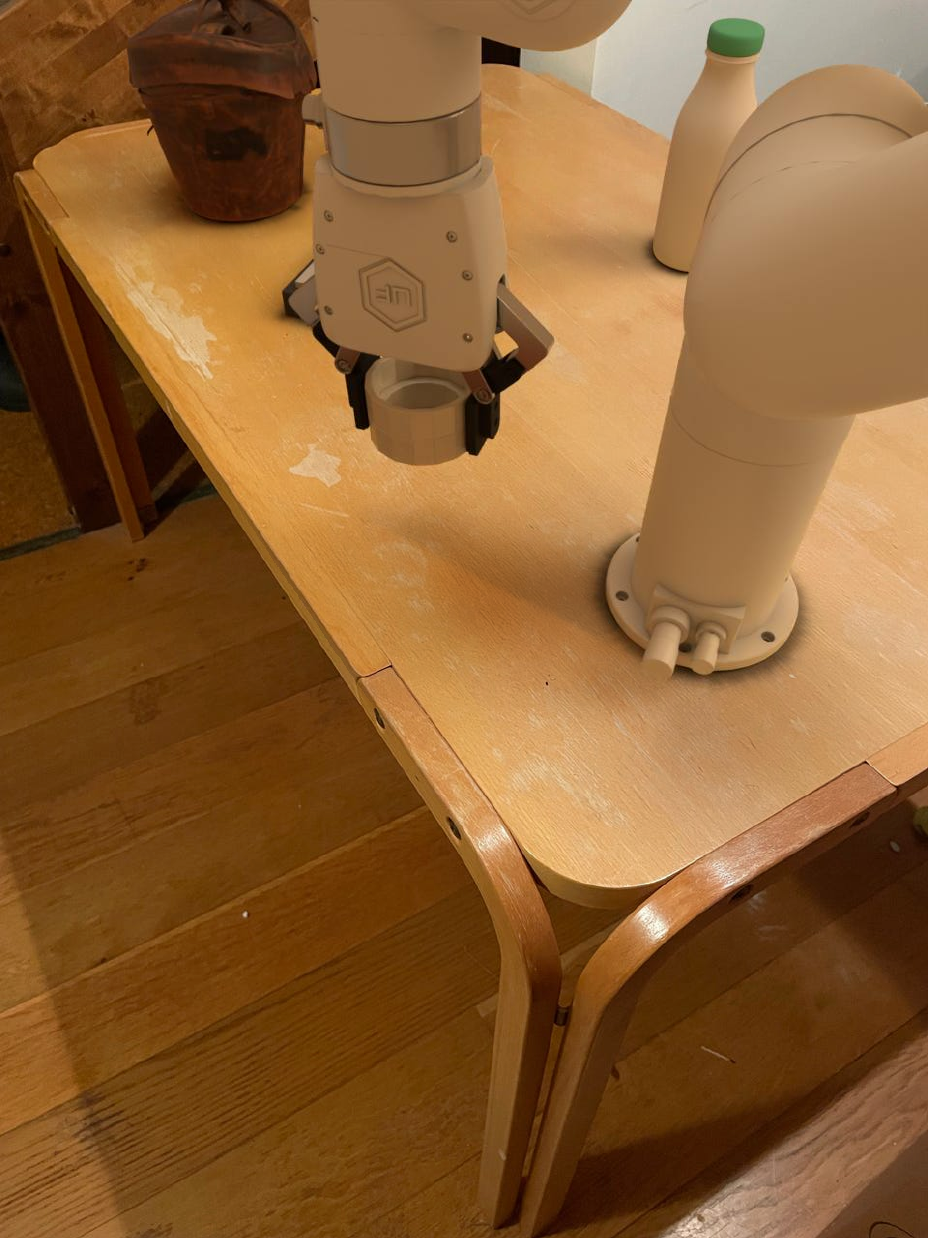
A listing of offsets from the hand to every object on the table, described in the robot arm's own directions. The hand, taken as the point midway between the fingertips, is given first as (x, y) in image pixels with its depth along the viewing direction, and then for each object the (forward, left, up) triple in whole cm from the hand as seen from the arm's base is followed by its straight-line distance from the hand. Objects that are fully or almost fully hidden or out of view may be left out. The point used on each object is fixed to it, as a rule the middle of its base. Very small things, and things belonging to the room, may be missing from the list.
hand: (424, 427), depth 57 cm
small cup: (0, 0, -1) cm, 1 cm away
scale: (+28, +18, -10) cm, 34 cm away
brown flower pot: (+41, +39, -10) cm, 57 cm away
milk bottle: (+46, -9, -10) cm, 48 cm away
